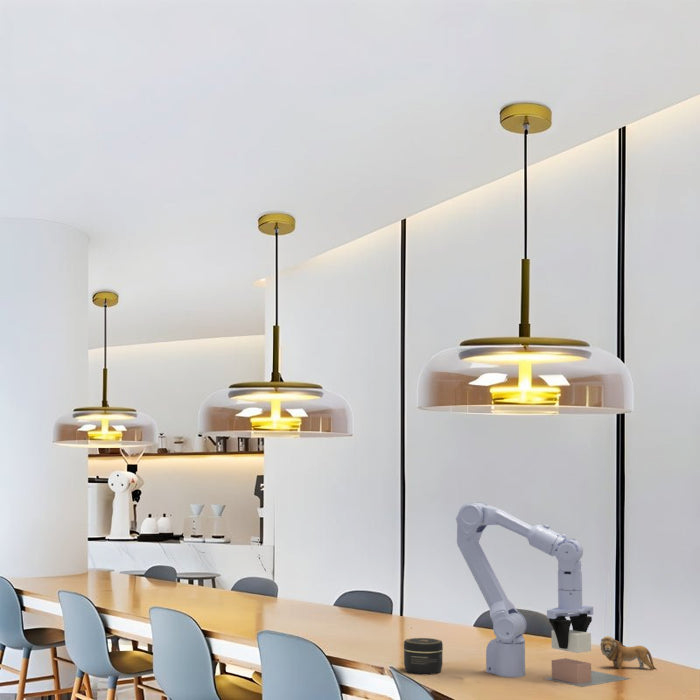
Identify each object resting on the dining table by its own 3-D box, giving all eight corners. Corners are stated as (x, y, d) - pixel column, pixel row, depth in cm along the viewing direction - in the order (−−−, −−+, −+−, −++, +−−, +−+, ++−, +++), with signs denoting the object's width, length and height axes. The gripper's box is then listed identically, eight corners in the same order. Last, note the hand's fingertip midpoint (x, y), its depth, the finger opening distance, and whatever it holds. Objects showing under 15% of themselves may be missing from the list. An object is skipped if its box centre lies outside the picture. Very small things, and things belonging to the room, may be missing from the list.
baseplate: (543, 682, 241) (543, 678, 241) (592, 674, 252) (592, 670, 252) (581, 691, 232) (581, 686, 232) (631, 682, 242) (631, 678, 242)
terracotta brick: (551, 678, 242) (551, 660, 242) (565, 675, 245) (565, 658, 245) (577, 683, 235) (577, 665, 236) (591, 681, 238) (591, 663, 239)
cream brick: (551, 648, 242) (551, 630, 243) (565, 646, 245) (565, 628, 246) (577, 652, 236) (576, 634, 237) (591, 651, 239) (590, 633, 240)
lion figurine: (604, 674, 253) (603, 638, 254) (597, 670, 258) (597, 634, 259) (661, 674, 253) (660, 638, 255) (653, 670, 259) (652, 634, 260)
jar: (408, 666, 260) (408, 636, 261) (446, 669, 257) (446, 638, 258) (399, 673, 250) (399, 642, 251) (439, 676, 248) (439, 644, 249)
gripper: (562, 592, 235) (563, 652, 233) (602, 589, 244) (603, 646, 242) (540, 590, 241) (540, 648, 239) (580, 587, 249) (581, 642, 248)
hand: (571, 647), depth 241 cm, fingers closed on cream brick, 5 cm apart
